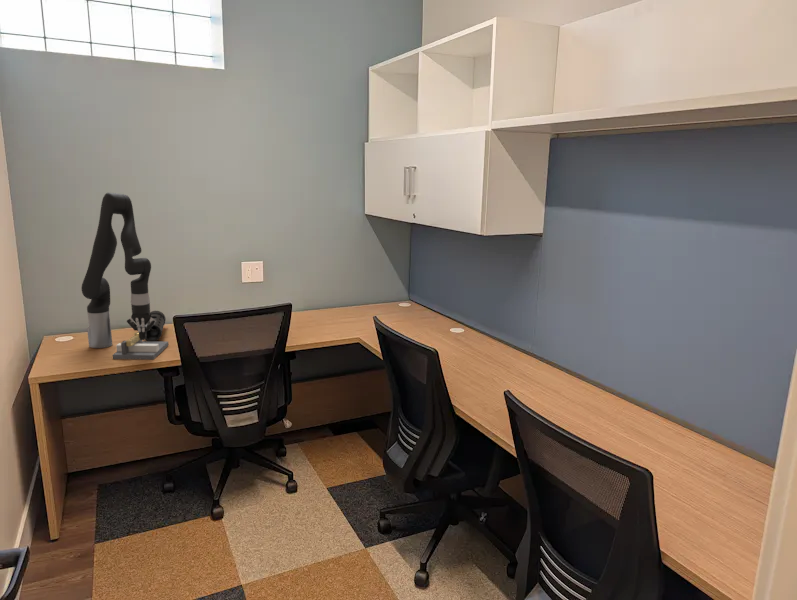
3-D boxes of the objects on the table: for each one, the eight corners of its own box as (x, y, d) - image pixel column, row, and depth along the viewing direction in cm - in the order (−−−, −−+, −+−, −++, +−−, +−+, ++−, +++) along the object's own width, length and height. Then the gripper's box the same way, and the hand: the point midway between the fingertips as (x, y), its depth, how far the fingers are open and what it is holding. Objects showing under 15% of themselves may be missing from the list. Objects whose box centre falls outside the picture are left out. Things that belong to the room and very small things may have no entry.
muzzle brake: (141, 344, 275) (140, 324, 272) (147, 328, 301) (145, 309, 298) (162, 343, 278) (161, 323, 275) (166, 327, 304) (165, 309, 301)
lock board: (112, 359, 254) (111, 343, 253) (130, 344, 274) (129, 330, 272) (153, 359, 256) (152, 343, 254) (168, 345, 275) (167, 330, 273)
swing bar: (136, 337, 267) (136, 332, 266) (143, 337, 267) (142, 332, 267) (125, 346, 255) (124, 340, 254) (132, 346, 255) (131, 340, 254)
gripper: (158, 300, 256) (160, 337, 260) (128, 300, 255) (131, 336, 260) (152, 305, 249) (154, 342, 253) (121, 304, 248) (124, 341, 252)
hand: (142, 339), depth 256 cm, fingers closed
